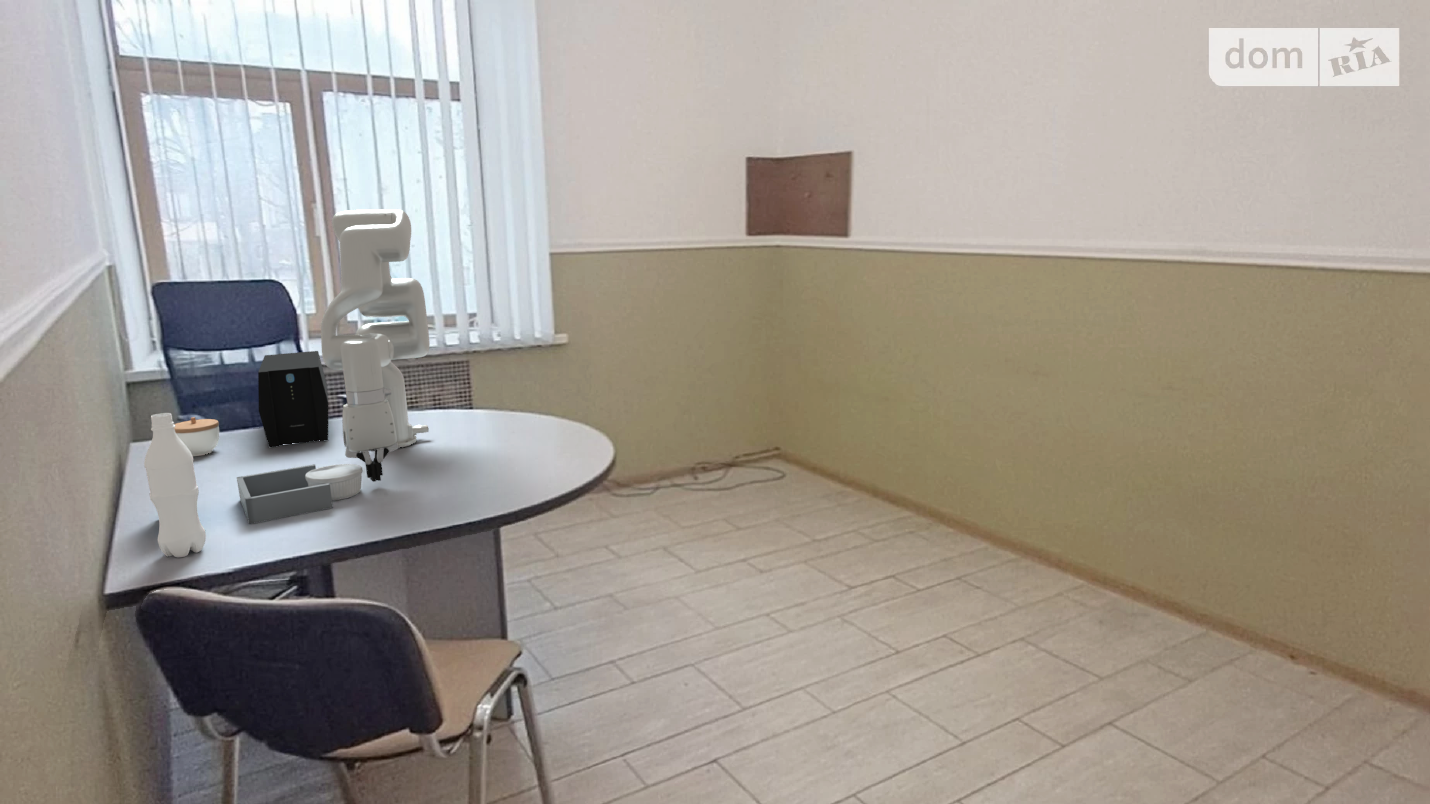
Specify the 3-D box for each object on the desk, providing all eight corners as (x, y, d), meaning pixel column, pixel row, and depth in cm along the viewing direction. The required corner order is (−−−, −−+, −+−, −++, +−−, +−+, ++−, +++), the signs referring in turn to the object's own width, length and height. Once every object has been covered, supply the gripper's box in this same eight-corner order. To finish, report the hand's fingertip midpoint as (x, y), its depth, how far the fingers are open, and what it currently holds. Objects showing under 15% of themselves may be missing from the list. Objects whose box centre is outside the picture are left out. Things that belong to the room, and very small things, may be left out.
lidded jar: (224, 445, 222) (219, 411, 220) (220, 455, 213) (215, 419, 211) (177, 451, 218) (171, 416, 216) (171, 461, 208) (164, 424, 206)
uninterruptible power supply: (264, 448, 218) (253, 372, 214) (270, 421, 248) (260, 354, 244) (333, 440, 225) (323, 366, 221) (330, 415, 255) (322, 349, 251)
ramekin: (340, 483, 186) (337, 460, 185) (376, 489, 181) (374, 466, 180) (296, 499, 177) (292, 475, 175) (333, 506, 172) (330, 481, 171)
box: (317, 486, 185) (314, 464, 184) (332, 507, 171) (329, 484, 169) (240, 500, 177) (236, 477, 176) (249, 524, 162) (245, 499, 161)
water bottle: (173, 563, 144) (148, 421, 139) (152, 555, 148) (127, 417, 143) (216, 549, 150) (193, 412, 145) (195, 541, 154) (172, 408, 149)
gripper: (397, 389, 186) (406, 469, 190) (324, 399, 178) (335, 482, 182) (406, 395, 180) (415, 477, 184) (331, 405, 172) (342, 491, 176)
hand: (375, 479), depth 183 cm, fingers closed
